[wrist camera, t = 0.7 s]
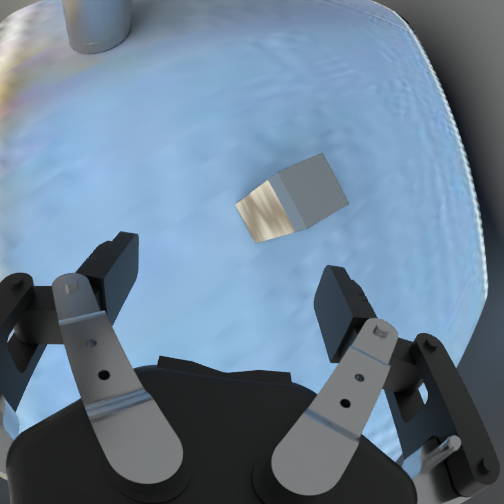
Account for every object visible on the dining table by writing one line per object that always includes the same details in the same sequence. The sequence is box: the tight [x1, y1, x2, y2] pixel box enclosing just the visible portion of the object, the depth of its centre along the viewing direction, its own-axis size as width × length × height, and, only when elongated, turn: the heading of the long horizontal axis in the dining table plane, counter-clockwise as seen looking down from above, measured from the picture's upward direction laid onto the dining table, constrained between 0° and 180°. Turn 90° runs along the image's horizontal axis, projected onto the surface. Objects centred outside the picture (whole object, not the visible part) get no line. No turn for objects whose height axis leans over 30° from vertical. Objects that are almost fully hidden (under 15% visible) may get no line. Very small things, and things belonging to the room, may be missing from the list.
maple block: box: [235, 153, 349, 243], centre depth 30 cm, size 5×5×12 cm
